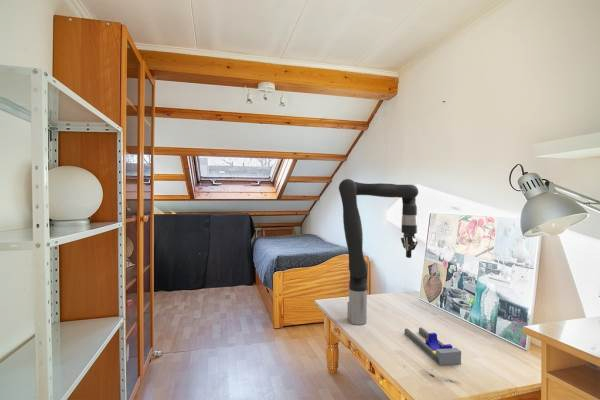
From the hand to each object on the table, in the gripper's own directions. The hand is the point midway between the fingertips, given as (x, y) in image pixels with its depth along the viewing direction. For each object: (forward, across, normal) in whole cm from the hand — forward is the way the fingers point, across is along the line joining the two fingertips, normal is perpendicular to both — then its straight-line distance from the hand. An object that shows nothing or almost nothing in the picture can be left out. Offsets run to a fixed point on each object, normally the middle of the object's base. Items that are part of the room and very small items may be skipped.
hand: (408, 257), depth 159 cm
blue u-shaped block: (+35, +28, -1) cm, 45 cm away
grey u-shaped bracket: (+35, +22, -2) cm, 41 cm away
